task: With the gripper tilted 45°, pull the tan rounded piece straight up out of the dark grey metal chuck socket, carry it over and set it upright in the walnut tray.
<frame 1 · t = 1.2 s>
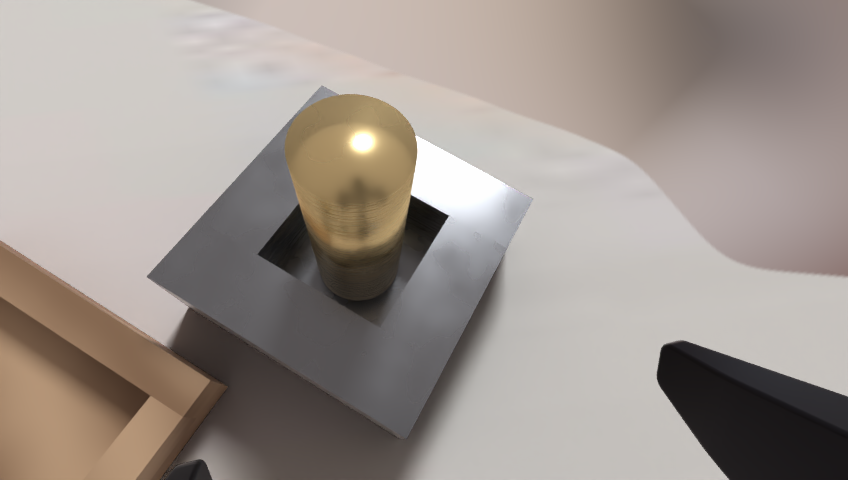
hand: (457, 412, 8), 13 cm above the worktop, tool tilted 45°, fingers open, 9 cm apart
chuck socket: (359, 269, 23), on the worktop
tan rounded piece: (359, 262, 23), point 1 cm above the worktop, touching chuck socket
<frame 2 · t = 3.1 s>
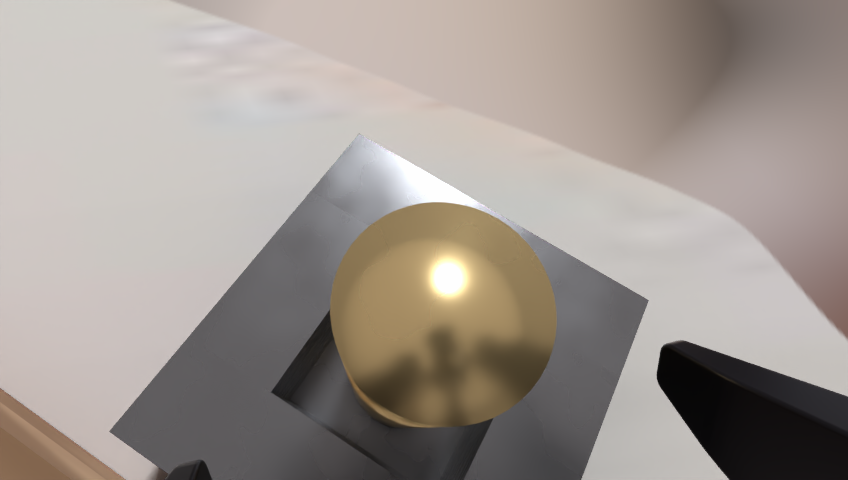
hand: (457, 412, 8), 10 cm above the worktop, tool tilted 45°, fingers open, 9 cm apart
chuck socket: (402, 374, 18), on the worktop
tan rounded piece: (403, 371, 17), point 1 cm above the worktop, touching chuck socket
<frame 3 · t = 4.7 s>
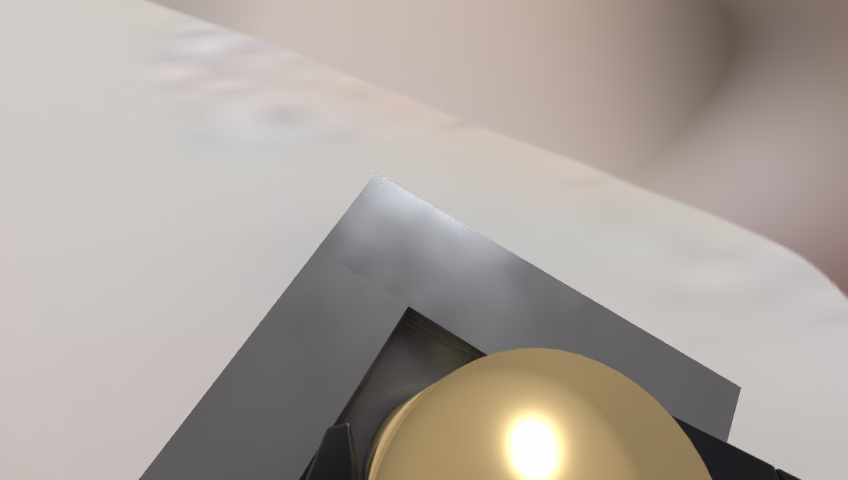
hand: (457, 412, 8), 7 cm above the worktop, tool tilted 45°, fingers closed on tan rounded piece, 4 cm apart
chuck socket: (426, 461, 15), on the worktop
tan rounded piece: (430, 464, 14), point 1 cm above the worktop, touching chuck socket, gripper
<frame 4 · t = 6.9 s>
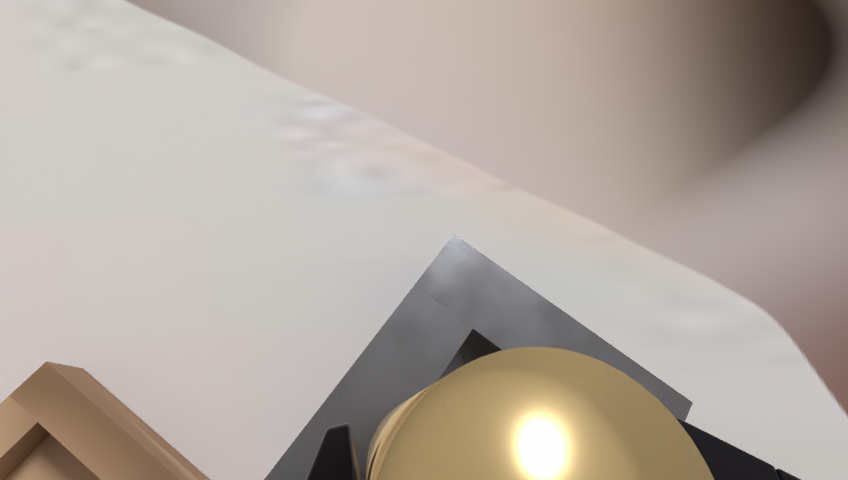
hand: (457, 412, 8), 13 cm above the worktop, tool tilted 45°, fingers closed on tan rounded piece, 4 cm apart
chuck socket: (469, 436, 21), on the worktop
tan rounded piece: (431, 463, 14), point 7 cm above the worktop, touching gripper
when the fingers open (9 cm above the worktop, at t = 9.4 s): tan rounded piece drops 1 cm, resting on walnut tray.
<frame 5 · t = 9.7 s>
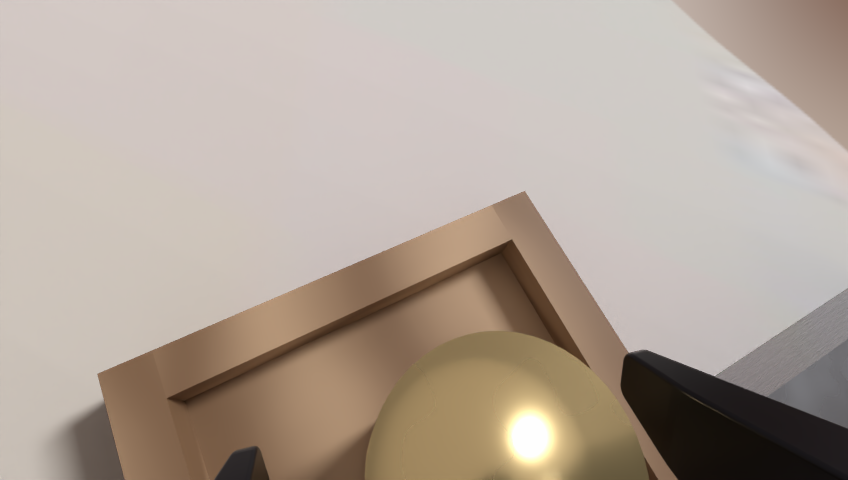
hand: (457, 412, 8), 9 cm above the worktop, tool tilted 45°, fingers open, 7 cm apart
walnut tray: (421, 458, 16), on the worktop
tan rounded piece: (424, 461, 15), point 1 cm above the worktop, touching walnut tray
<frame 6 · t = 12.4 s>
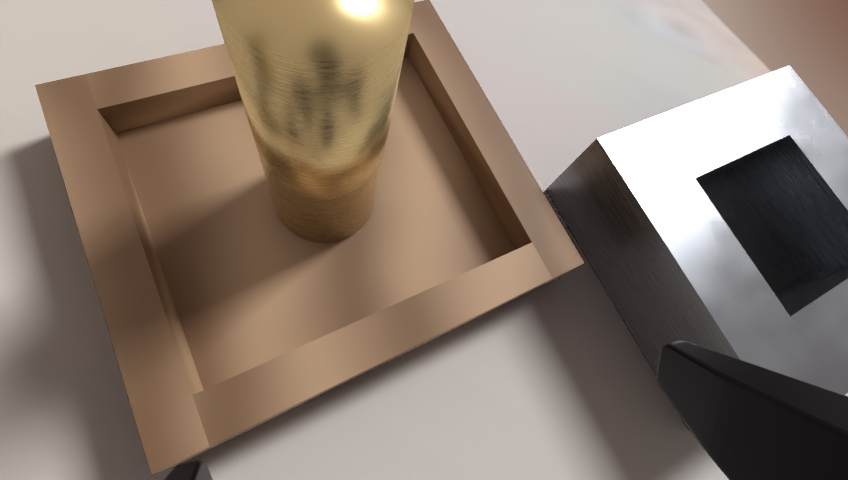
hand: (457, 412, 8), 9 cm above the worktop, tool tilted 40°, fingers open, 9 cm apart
chuck socket: (703, 252, 22), on the worktop
walnut tray: (325, 206, 19), on the worktop
tan rounded piece: (324, 196, 18), point 1 cm above the worktop, touching walnut tray
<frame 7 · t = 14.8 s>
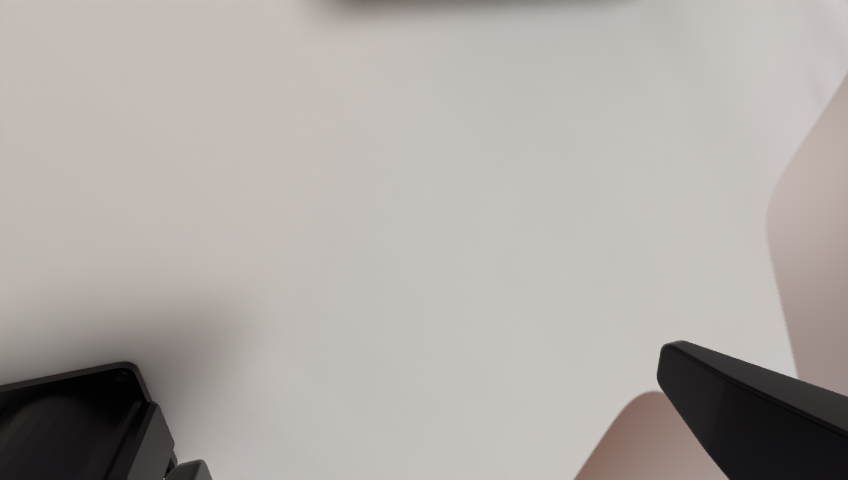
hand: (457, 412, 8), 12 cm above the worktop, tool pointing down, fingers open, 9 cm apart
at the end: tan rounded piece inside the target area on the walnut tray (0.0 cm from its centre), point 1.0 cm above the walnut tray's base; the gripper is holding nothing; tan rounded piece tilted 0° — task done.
